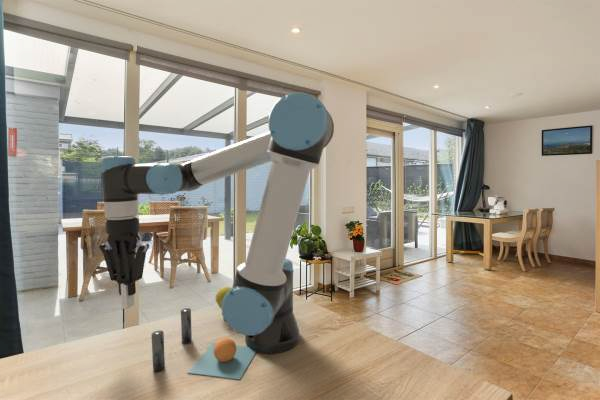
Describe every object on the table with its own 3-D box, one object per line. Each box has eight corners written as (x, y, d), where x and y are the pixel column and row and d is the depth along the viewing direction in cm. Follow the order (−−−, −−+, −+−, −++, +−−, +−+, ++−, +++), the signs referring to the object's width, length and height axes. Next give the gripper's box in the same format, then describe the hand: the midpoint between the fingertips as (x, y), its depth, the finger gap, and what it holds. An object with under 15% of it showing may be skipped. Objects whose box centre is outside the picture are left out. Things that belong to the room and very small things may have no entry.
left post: (167, 366, 77) (165, 331, 76) (160, 373, 75) (159, 336, 74) (157, 365, 78) (155, 330, 77) (150, 372, 75) (149, 335, 74)
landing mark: (257, 348, 85) (257, 347, 85) (240, 379, 72) (240, 379, 72) (212, 343, 87) (212, 343, 87) (187, 373, 75) (187, 372, 75)
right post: (193, 339, 90) (192, 308, 89) (188, 344, 87) (187, 312, 86) (185, 338, 90) (184, 307, 89) (180, 343, 88) (178, 311, 87)
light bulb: (232, 323, 99) (231, 292, 98) (212, 321, 100) (211, 290, 100) (240, 313, 106) (239, 284, 105) (221, 312, 107) (220, 283, 106)
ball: (233, 330, 82) (215, 338, 83) (224, 341, 76) (205, 350, 78) (243, 349, 82) (225, 357, 83) (235, 361, 76) (216, 370, 78)
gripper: (154, 215, 84) (159, 302, 86) (111, 215, 86) (117, 299, 88) (134, 219, 77) (141, 314, 79) (88, 219, 79) (95, 311, 81)
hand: (128, 306), depth 84 cm, fingers closed
